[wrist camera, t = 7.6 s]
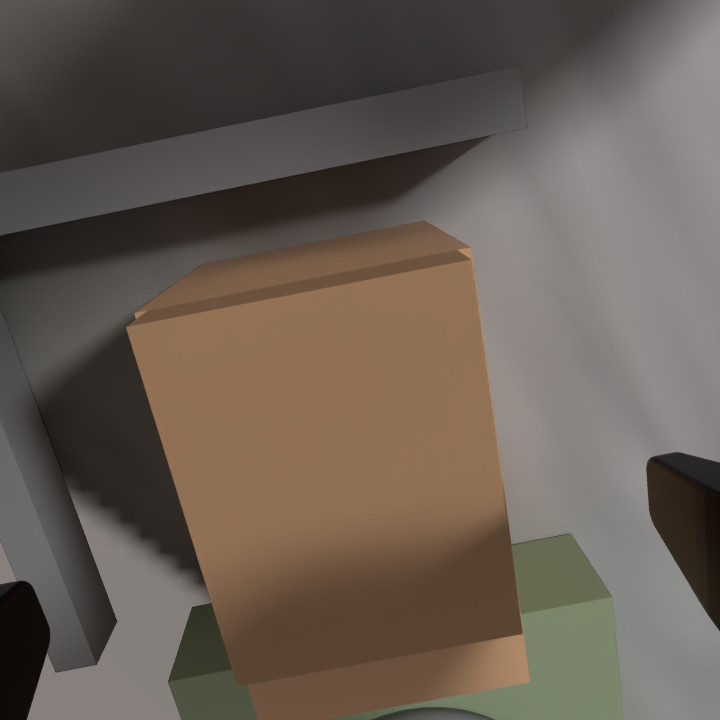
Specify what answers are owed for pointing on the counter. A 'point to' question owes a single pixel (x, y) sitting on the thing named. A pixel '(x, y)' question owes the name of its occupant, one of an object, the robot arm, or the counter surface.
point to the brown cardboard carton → (340, 470)
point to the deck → (202, 634)
